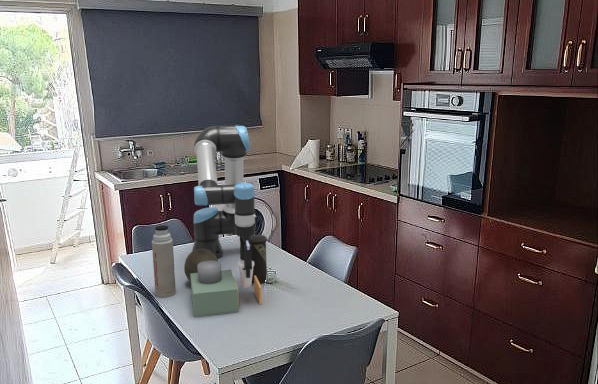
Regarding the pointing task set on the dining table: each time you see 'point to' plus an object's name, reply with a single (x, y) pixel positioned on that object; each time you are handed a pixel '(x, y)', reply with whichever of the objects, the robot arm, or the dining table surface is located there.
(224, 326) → the dining table surface
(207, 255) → the cantaloupe
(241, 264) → the smoothie
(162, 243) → the thermos bottle
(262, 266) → the container
